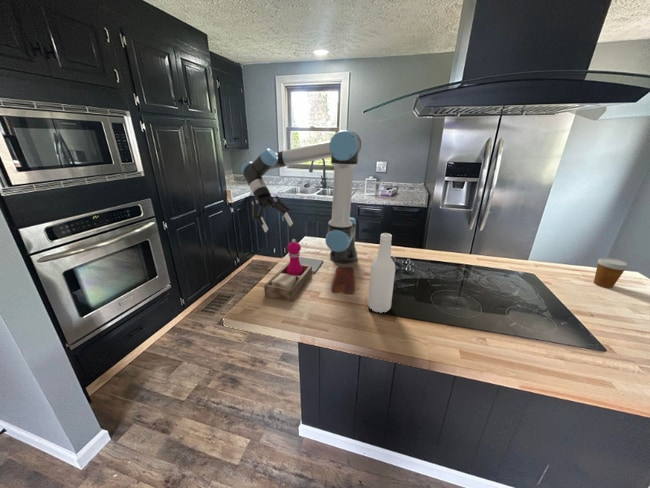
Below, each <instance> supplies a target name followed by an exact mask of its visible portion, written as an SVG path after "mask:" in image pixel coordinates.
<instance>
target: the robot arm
mask: <svg viewBox="0 0 650 488" xmlns="http://www.w3.org/2000/svg"><path fill="white" fill-rule="evenodd" d="M361 149H362V140H361V138H360V136H359V134H357V133H356V132H354V131H351V130H347V129H345V130H339V131H337V132H336V133H335V134H333V136H331V138H330V140H327V141H322V142H318V143H313V144H309V145H306V146H300V147H295V148H290V149H287V150H281V151H277V152H276V151H274V150H272V149H270V148H266V149H264V150H263V151H262V152H261V153H260V154H259V155H258V157H257V158H256V159H254V161H245V163H243V164H241V166H240V167H241V168H240V171H241V173H242V176H243V178H244V179H245V181H246V183H247V185H248V187H249V189H250V190H251V192H252V195H253V197H254V198H253V199H252V201H251V207H252V210H251V211H252V212H251V220H252V221H256V222H258V224H259V226H260V227H262V229H263V231H264V233H267V232H268V231H269V226H267V224H266V222H265V220H264V217H263V216H262V214H263V209H268V208H269V209H271V208H272V209H275V210H277V211H278V212H280V213H282V214H283V216H284V218H285V221H286V222H287V225H288V226H289V227H292V226H293V224H294V222H293V221H292V220H293V219H292V217H291V214H290V211H291V210H292V209H291V208H290V207H289V206H288V205H287V204H286V203H284V201H282V200H281V198H279V196H277V195H275V197H272V194H271V192H270V190H269V188H268V186H267V184H266V182H265V180H264V179H263V176H265V174H266V173H267V172H269V171H270V170H273V169H278V168H284V167H288V166H293V165H298V164H304V163H308V162H314V161H319V160H323V159H329V158H331V159H330V164H331V165H332V166H333V184H332V185H333V186H332V203H331V204H332V207H331V219H330V220H329V221H328V224H327V234H326V236H325V241H324V242H325V245H326V246H327V248H328V249H330V253H329V258H330V260H331V261H333V262H336V263H340V264H349V263H353V262H355V261H357V259H358V253H357V248H356V245H355V243H356V242H355V241H356V229H357V228H356V225H357V222H356V221H357V220H356V219H355V218H354V217H351V207H352V192H353V182H354V168H355V167H356V166H357V165H358V161H359V153H360V151H361ZM257 205H258V206H259V210H258V213H257Z"/></svg>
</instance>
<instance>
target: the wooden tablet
mask: <svg viewBox="0 0 650 488" xmlns="http://www.w3.org/2000/svg"><path fill="white" fill-rule="evenodd" d="M355 279H356V277H355V270H354V267H353V266H338V267H337V268H336V269H335V273H334V277H333V280H332V285H331V292H332V293H333V294H340V293H341V294H344V295H354V294H355V288H356V280H355Z"/></svg>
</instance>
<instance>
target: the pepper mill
mask: <svg viewBox="0 0 650 488" xmlns="http://www.w3.org/2000/svg"><path fill="white" fill-rule="evenodd" d="M286 249H287V251H288V257H289V261H288V262H289V265H288V268H287V273H288V274H291V275H297V276H301V274H302V272H303V270H302V266H301V264H300V262H299V257H301V255H300V254H301V252H300V251H301V249H302V247H301V244H300V243H299V242H297V239H295V238H293V239H291V242H289V243H288V245H287V248H286Z"/></svg>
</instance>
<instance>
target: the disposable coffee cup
mask: <svg viewBox="0 0 650 488" xmlns="http://www.w3.org/2000/svg"><path fill="white" fill-rule="evenodd" d="M628 268H629V267H628V263H626V262H625V261H623V260H620V259H617V258H612V257H605V256H604V257H600V258H599V259H597V266H596V271H595V275H594V279H593V284H594V285H596V286H599V287H600V288H601V287H602V288H605V289H613V288H614V286H615V285H616V283H617V282H618V280H619V279H620V278H621V276H622V275H623V273H624V272H625V270H627V269H628Z"/></svg>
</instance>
